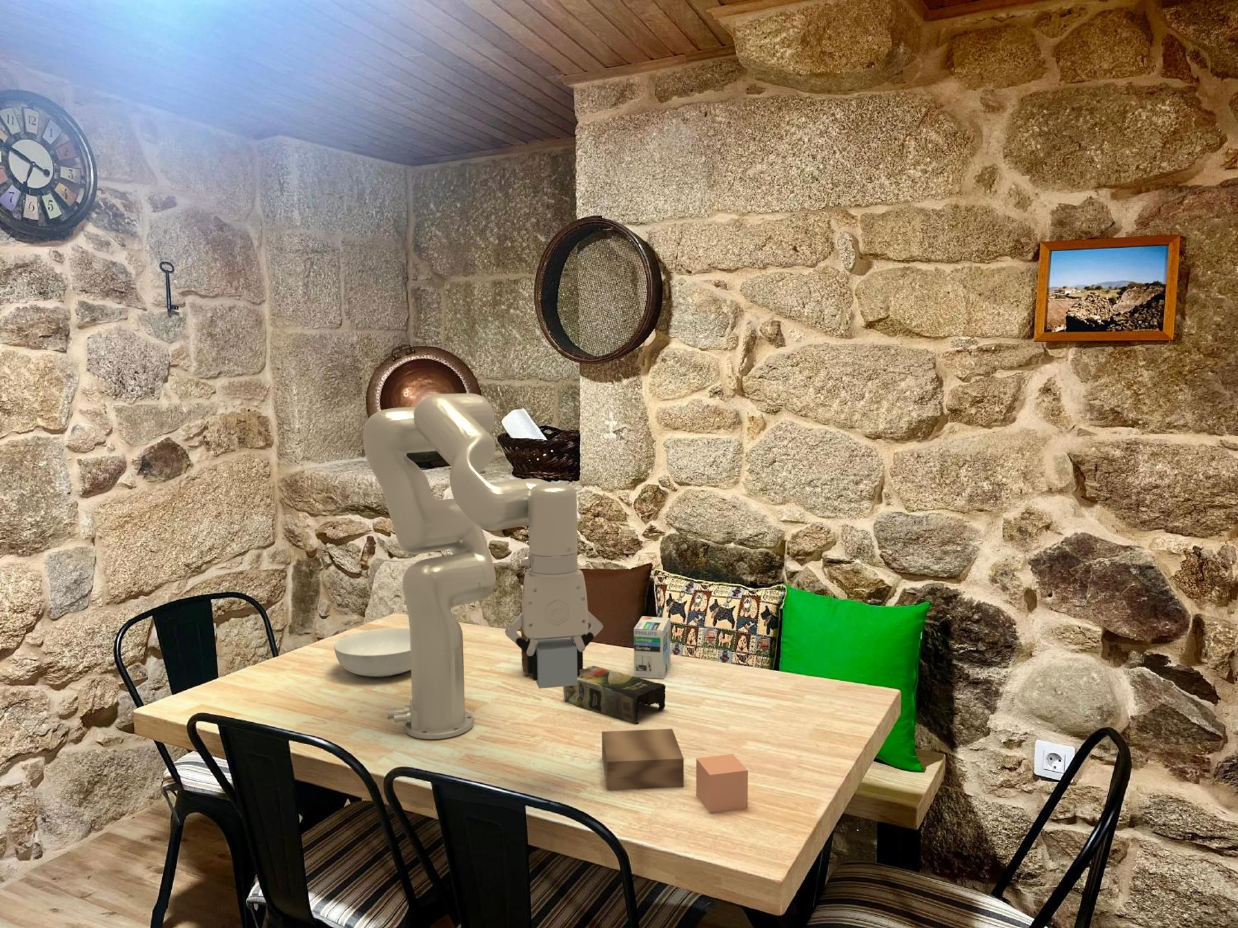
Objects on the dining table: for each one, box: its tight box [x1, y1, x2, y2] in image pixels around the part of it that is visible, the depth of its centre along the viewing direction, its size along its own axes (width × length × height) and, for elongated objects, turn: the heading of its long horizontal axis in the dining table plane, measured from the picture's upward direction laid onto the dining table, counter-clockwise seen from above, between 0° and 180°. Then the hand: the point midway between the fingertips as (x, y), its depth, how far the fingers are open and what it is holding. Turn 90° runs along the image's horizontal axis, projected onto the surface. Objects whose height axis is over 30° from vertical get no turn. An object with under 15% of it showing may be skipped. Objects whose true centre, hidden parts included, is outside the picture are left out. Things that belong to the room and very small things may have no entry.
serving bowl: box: [333, 627, 411, 678], centre depth 198 cm, size 21×21×7 cm
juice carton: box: [562, 665, 667, 725], centre depth 176 cm, size 20×10×6 cm, turn 50°
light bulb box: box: [633, 615, 672, 680], centre depth 196 cm, size 11×7×11 cm, turn 168°
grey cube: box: [535, 637, 577, 690], centre depth 141 cm, size 6×6×6 cm
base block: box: [601, 728, 685, 792], centre depth 146 cm, size 12×12×5 cm
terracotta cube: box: [695, 753, 749, 814], centre depth 136 cm, size 6×6×6 cm
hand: (555, 674), depth 141 cm, fingers closed on grey cube, 6 cm apart
